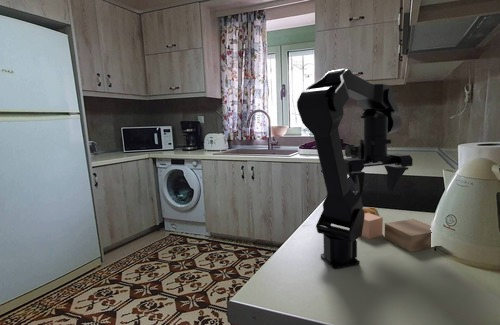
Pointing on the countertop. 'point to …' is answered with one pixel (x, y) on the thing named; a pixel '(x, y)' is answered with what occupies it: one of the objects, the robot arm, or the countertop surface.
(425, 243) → the brown wooden square block
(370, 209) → the pastry
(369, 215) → the terracotta cube
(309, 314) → the countertop surface
